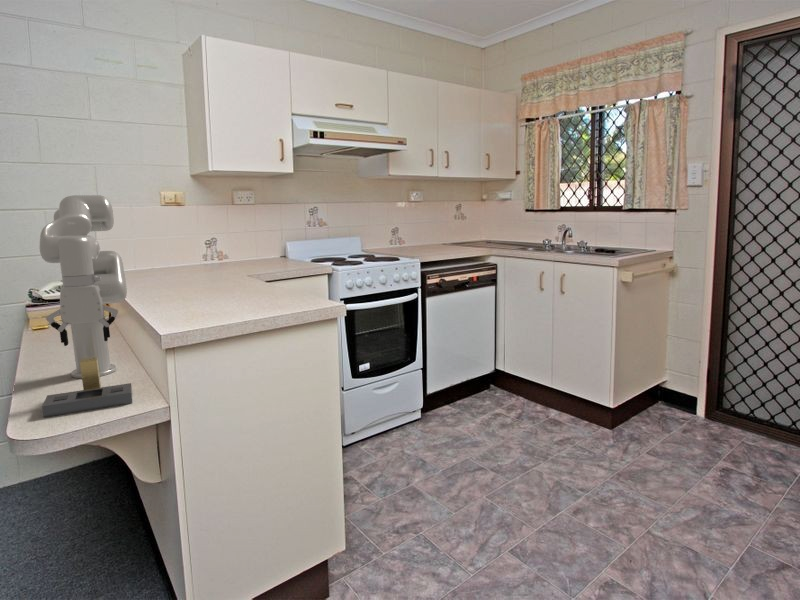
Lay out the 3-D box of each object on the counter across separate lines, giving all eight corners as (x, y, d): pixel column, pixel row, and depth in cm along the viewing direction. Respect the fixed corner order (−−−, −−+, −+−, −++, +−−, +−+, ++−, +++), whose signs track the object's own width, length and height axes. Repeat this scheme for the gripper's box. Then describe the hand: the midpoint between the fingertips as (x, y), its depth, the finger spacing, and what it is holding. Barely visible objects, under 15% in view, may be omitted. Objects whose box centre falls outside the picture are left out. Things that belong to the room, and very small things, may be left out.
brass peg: (85, 392, 151) (81, 358, 149) (101, 390, 152) (97, 356, 151) (84, 396, 147) (79, 362, 145) (100, 394, 149) (96, 360, 147)
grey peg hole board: (48, 406, 141) (47, 395, 140) (132, 393, 149) (131, 382, 149) (43, 417, 133) (42, 406, 132) (132, 403, 141) (131, 392, 141)
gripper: (115, 278, 151) (121, 336, 154) (43, 283, 144) (51, 344, 146) (114, 280, 145) (121, 341, 147) (39, 285, 137) (47, 349, 140)
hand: (86, 342), depth 147 cm, fingers open, 9 cm apart
